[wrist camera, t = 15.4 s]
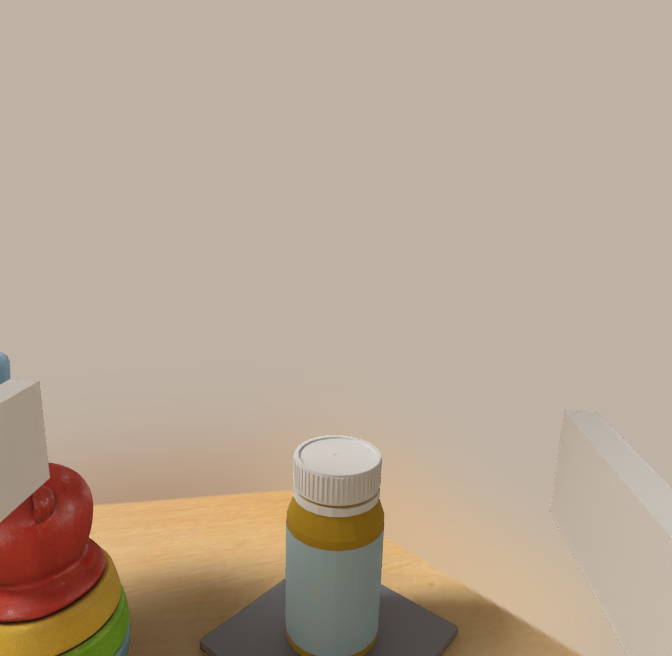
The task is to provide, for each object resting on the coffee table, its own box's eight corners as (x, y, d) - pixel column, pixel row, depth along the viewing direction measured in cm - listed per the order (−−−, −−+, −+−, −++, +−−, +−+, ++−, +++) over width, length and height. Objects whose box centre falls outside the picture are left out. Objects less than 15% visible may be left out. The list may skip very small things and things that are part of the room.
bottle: (346, 590, 47) (353, 426, 43) (395, 648, 41) (408, 464, 37) (270, 620, 43) (271, 443, 40) (312, 688, 38) (317, 489, 34)
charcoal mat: (200, 647, 41) (199, 640, 41) (322, 557, 52) (322, 551, 52) (346, 771, 33) (346, 763, 33) (457, 633, 43) (458, 627, 43)
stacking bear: (-35, 690, 37) (-75, 448, 33) (123, 638, 42) (106, 420, 38) (-57, 856, 28) (-117, 551, 24) (149, 765, 33) (130, 496, 29)
